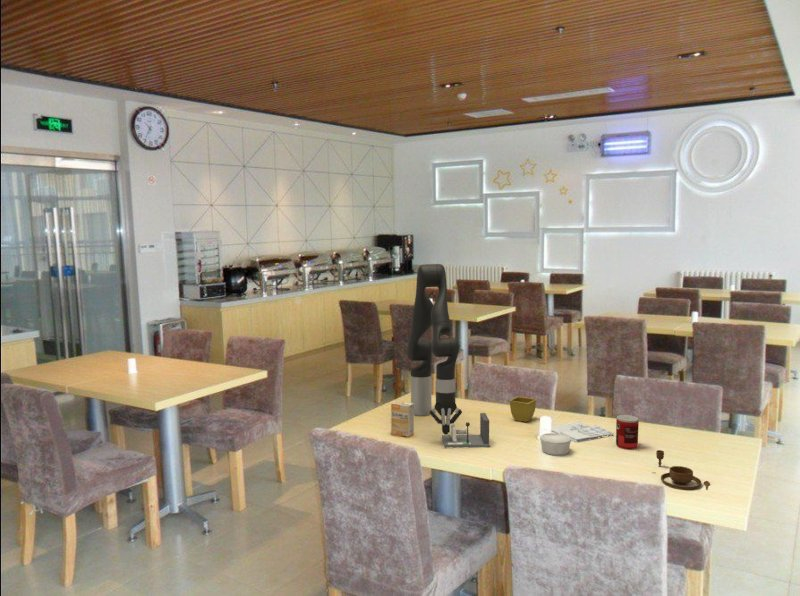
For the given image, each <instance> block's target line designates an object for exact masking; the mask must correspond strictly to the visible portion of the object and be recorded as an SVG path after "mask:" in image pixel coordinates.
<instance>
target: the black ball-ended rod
mask: <svg viewBox="0 0 800 596" xmlns="http://www.w3.org/2000/svg"><path fill="white" fill-rule="evenodd" d="M470 425H471V424H470V422H468V421H466V422H465V426H466V431H467V434H466V435H467V440H466V442H467V443H469V440H468V435H469V427H470Z"/></svg>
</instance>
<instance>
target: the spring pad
mask: <svg viewBox="0 0 800 596" xmlns="http://www.w3.org/2000/svg"><path fill="white" fill-rule="evenodd" d="M450 435H451V437H452V440H453V442H455V443H457V439H456V435H467V429H457V428H456V425H455V422H454V423H452V424H450Z"/></svg>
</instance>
